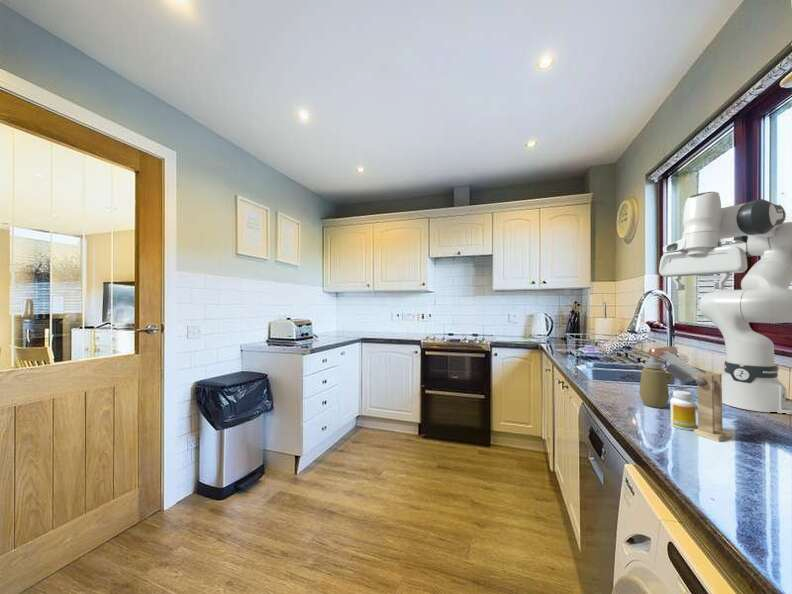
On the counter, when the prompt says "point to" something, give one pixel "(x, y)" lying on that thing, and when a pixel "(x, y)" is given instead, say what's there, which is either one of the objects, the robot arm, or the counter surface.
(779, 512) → the counter surface
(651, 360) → the squeeze bottle
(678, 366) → the lever
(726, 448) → the counter surface
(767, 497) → the counter surface
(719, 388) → the press stand
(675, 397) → the supplement bottle
